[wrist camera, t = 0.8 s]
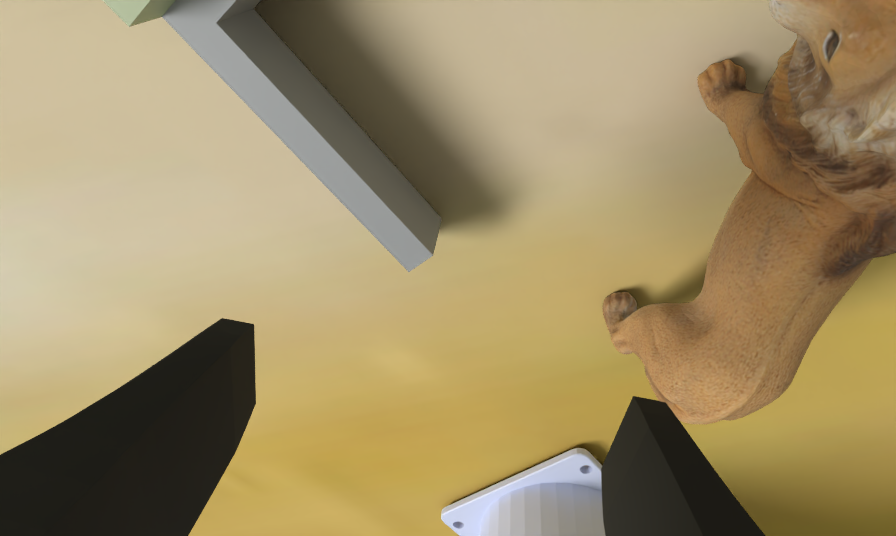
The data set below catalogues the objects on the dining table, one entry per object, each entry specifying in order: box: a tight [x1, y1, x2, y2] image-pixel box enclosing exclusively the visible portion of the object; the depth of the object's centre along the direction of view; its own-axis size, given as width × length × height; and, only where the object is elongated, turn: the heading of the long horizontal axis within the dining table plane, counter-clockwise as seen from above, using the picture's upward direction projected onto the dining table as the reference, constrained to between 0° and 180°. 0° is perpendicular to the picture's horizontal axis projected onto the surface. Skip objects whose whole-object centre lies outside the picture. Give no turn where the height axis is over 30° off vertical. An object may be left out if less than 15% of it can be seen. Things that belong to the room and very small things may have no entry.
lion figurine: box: [603, 0, 896, 424], centre depth 15 cm, size 15×5×9 cm, turn 177°
